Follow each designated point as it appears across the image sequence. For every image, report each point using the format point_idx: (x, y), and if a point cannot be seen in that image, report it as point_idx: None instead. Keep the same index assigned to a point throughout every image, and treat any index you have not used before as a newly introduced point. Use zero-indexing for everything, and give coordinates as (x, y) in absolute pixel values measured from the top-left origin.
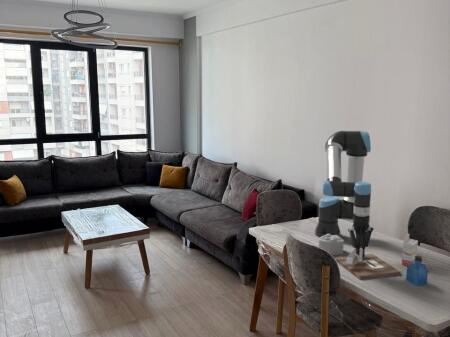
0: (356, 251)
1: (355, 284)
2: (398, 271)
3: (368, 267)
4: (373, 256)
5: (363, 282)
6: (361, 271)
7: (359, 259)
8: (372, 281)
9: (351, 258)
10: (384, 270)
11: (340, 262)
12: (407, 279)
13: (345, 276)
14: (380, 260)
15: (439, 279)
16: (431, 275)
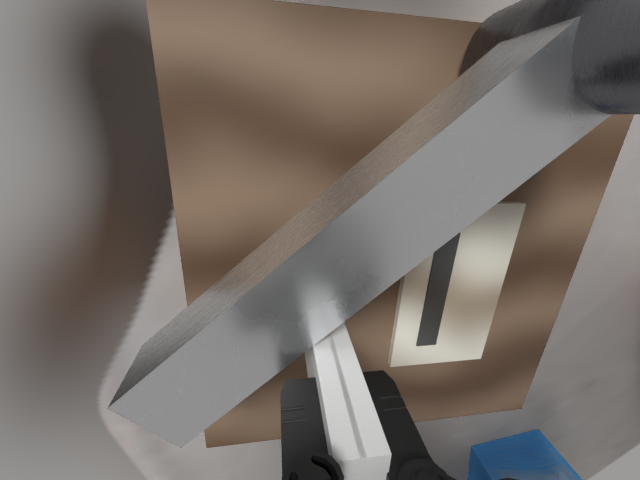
0: (285, 438)
1: (144, 475)
2: (511, 406)
3: (372, 331)
4: (605, 120)
5: (214, 457)
6: (268, 385)
7: (307, 369)
8: (281, 449)
9: (167, 439)
10: (443, 387)
11: (169, 156)
12: (476, 461)
13: (120, 379)
14: (572, 227)
15: (613, 446)
16: (628, 412)
